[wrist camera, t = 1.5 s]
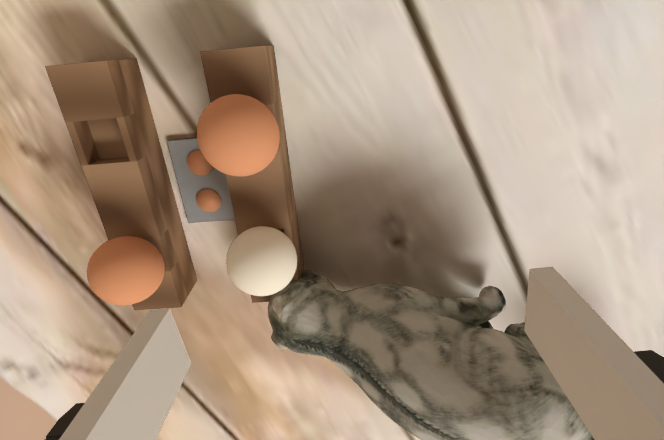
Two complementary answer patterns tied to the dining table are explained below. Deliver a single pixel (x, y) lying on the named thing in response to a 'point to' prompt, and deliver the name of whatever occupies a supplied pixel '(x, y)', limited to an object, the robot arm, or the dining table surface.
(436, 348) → the figurine
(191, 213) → the card
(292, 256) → the cream ball
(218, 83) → the rack
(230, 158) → the rust ball
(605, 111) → the dining table surface
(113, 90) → the rack
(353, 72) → the dining table surface
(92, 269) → the rust ball
